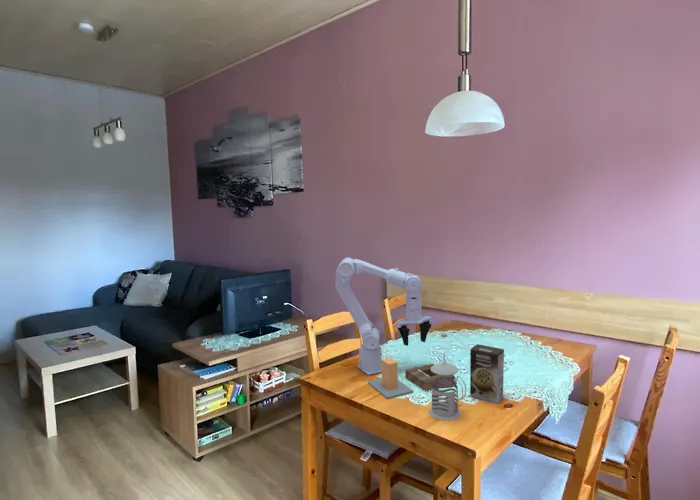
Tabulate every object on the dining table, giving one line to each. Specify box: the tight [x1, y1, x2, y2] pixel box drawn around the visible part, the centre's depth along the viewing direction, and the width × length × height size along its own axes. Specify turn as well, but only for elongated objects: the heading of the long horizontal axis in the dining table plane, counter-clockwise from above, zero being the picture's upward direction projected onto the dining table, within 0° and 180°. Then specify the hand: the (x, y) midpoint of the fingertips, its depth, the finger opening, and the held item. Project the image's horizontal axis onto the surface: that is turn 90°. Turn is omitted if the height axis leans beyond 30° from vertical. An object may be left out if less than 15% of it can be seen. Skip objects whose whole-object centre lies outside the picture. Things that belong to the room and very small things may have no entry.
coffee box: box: [469, 343, 505, 404], centre depth 141 cm, size 9×6×16 cm
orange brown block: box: [381, 357, 399, 390], centre depth 151 cm, size 5×4×9 cm
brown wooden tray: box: [404, 363, 456, 392], centre depth 156 cm, size 13×12×4 cm
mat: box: [367, 377, 414, 400], centre depth 151 cm, size 14×10×1 cm
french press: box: [428, 331, 467, 422], centre depth 131 cm, size 10×12×25 cm
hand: (414, 343), depth 165 cm, fingers open, 7 cm apart
